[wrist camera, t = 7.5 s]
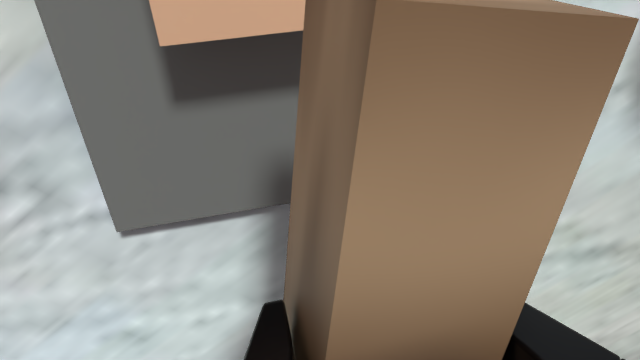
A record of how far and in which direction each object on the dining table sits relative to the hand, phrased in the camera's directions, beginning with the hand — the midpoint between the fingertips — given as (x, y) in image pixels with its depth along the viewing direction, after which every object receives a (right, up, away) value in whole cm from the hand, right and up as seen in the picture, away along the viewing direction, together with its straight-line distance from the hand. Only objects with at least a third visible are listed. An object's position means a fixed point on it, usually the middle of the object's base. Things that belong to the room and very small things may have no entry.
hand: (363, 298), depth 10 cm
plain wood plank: (0, +1, +1) cm, 1 cm away
